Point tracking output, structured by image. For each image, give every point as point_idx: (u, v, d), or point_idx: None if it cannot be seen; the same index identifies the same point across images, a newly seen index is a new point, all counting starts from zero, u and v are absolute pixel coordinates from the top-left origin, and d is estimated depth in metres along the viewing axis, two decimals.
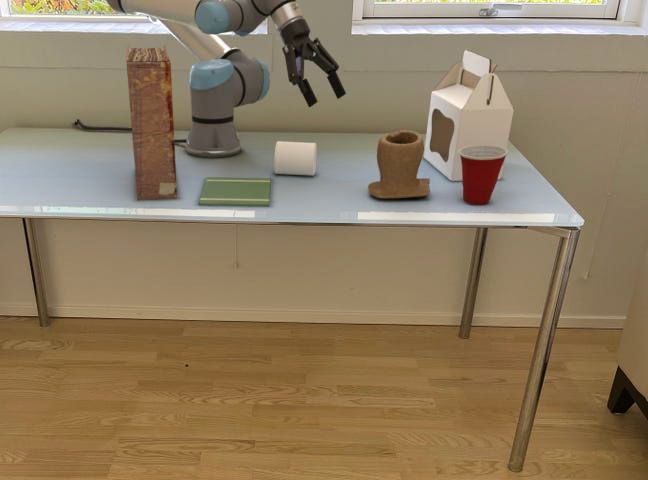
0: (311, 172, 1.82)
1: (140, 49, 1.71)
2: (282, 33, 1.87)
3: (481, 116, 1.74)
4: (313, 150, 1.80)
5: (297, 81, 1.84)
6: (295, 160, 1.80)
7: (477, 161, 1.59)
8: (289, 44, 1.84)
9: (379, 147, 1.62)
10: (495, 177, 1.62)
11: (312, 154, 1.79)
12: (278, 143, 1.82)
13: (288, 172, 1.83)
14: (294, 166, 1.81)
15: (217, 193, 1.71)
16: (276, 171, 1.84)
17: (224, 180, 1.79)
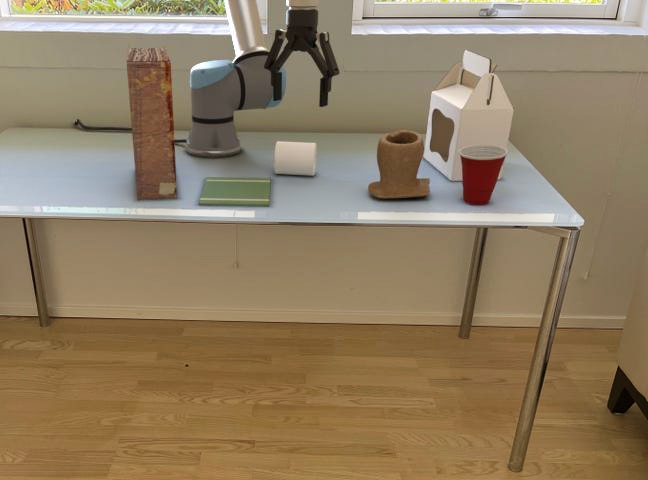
0: (311, 172, 1.82)
1: (140, 49, 1.71)
2: None
3: (481, 116, 1.74)
4: (313, 150, 1.80)
5: None
6: (295, 160, 1.80)
7: (477, 161, 1.59)
8: (276, 32, 1.74)
9: (379, 147, 1.62)
10: (495, 177, 1.62)
11: (312, 154, 1.79)
12: (278, 143, 1.82)
13: (288, 172, 1.83)
14: (294, 166, 1.81)
15: (217, 193, 1.71)
16: (276, 171, 1.84)
17: (224, 180, 1.79)
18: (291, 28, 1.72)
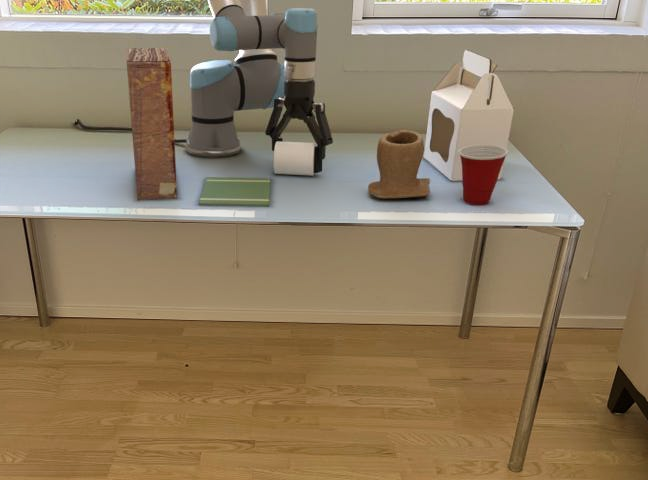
0: (310, 172, 1.82)
1: (140, 49, 1.71)
2: None
3: (481, 116, 1.74)
4: (312, 150, 1.80)
5: None
6: (294, 160, 1.80)
7: (477, 161, 1.59)
8: (275, 100, 1.81)
9: (379, 147, 1.62)
10: (495, 177, 1.62)
11: (311, 154, 1.79)
12: (277, 143, 1.82)
13: (287, 172, 1.83)
14: (293, 166, 1.81)
15: (217, 193, 1.71)
16: (275, 171, 1.84)
17: (224, 180, 1.79)
18: (289, 97, 1.79)
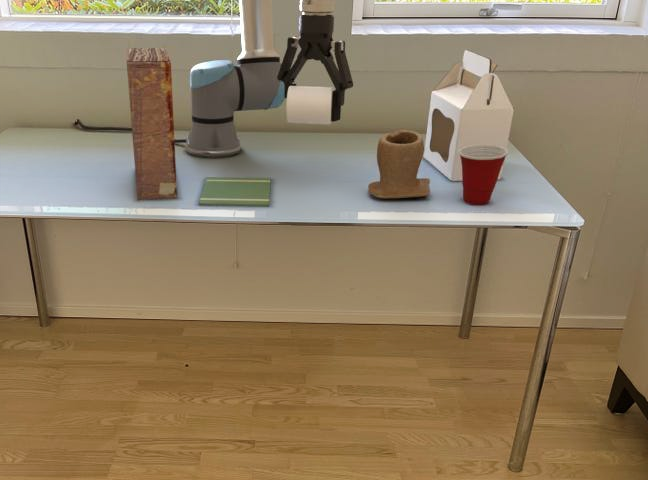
0: (328, 120, 1.63)
1: (140, 49, 1.71)
2: None
3: (481, 116, 1.74)
4: (330, 94, 1.61)
5: None
6: (309, 106, 1.61)
7: (477, 161, 1.59)
8: (288, 39, 1.62)
9: (379, 147, 1.62)
10: (495, 177, 1.62)
11: (329, 99, 1.60)
12: (291, 87, 1.63)
13: (302, 120, 1.64)
14: (309, 113, 1.62)
15: (217, 193, 1.71)
16: (288, 119, 1.65)
17: (224, 180, 1.79)
18: (304, 35, 1.59)
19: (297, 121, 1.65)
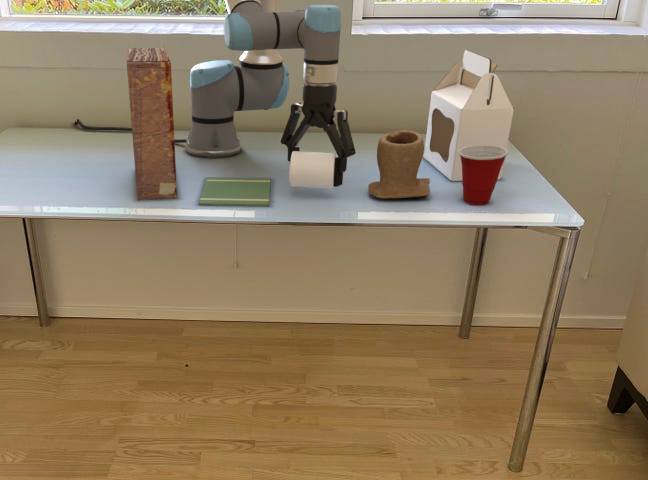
0: (330, 185, 1.66)
1: (140, 49, 1.71)
2: None
3: (481, 116, 1.74)
4: (333, 161, 1.63)
5: None
6: (312, 172, 1.64)
7: (477, 161, 1.59)
8: (292, 106, 1.65)
9: (379, 147, 1.62)
10: (495, 177, 1.62)
11: (331, 166, 1.63)
12: (294, 153, 1.65)
13: (305, 185, 1.67)
14: (311, 179, 1.65)
15: (217, 193, 1.71)
16: (291, 184, 1.67)
17: (224, 180, 1.79)
18: (308, 103, 1.62)
19: (300, 186, 1.68)
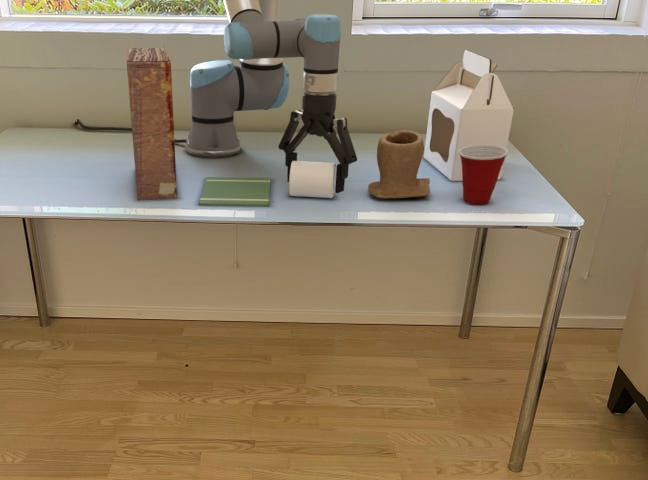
0: (329, 195, 1.67)
1: (140, 49, 1.71)
2: None
3: (481, 116, 1.74)
4: (332, 171, 1.64)
5: None
6: (312, 182, 1.65)
7: (477, 161, 1.59)
8: (292, 113, 1.66)
9: (379, 147, 1.62)
10: (495, 177, 1.62)
11: (331, 175, 1.64)
12: (294, 163, 1.67)
13: (304, 194, 1.68)
14: (311, 188, 1.66)
15: (217, 193, 1.71)
16: (291, 193, 1.68)
17: (224, 180, 1.79)
18: (307, 111, 1.63)
19: (300, 195, 1.69)
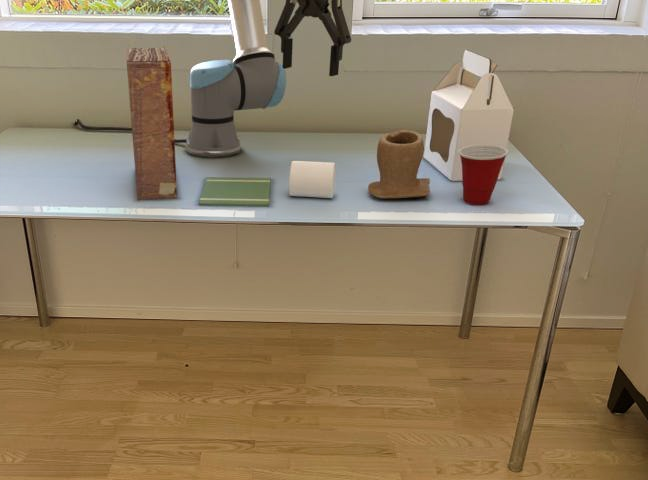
0: (329, 195, 1.67)
1: (140, 49, 1.71)
2: None
3: (481, 116, 1.74)
4: (332, 171, 1.64)
5: None
6: (312, 182, 1.65)
7: (477, 161, 1.59)
8: None
9: (379, 147, 1.62)
10: (495, 177, 1.62)
11: (331, 175, 1.64)
12: (294, 163, 1.67)
13: (304, 194, 1.68)
14: (311, 188, 1.66)
15: (217, 193, 1.71)
16: (291, 193, 1.68)
17: (224, 180, 1.79)
18: None
19: (300, 195, 1.69)
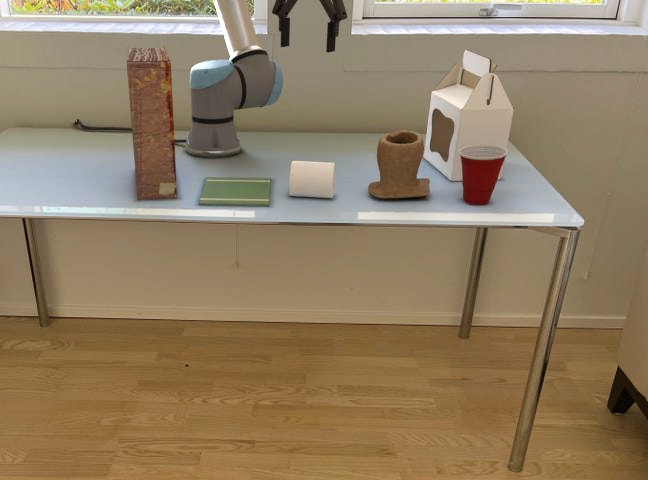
0: (329, 195, 1.67)
1: (140, 49, 1.71)
2: None
3: (481, 116, 1.74)
4: (332, 171, 1.64)
5: None
6: (312, 182, 1.65)
7: (477, 161, 1.59)
8: None
9: (379, 147, 1.62)
10: (495, 177, 1.62)
11: (331, 175, 1.64)
12: (294, 163, 1.67)
13: (304, 194, 1.68)
14: (311, 188, 1.66)
15: (217, 193, 1.71)
16: (291, 193, 1.68)
17: (224, 180, 1.79)
18: None
19: (300, 195, 1.69)
